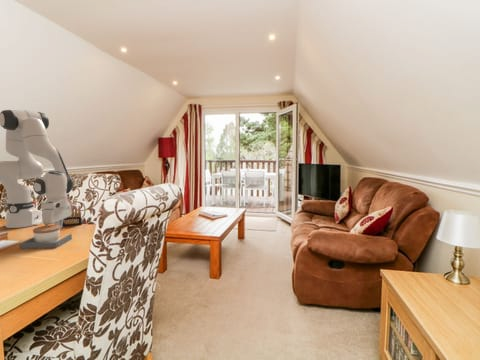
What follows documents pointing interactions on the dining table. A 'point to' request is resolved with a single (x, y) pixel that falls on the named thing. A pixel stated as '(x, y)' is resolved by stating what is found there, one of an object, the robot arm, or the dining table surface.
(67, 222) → the ammunition clip
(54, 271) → the dining table surface
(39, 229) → the lidded jar
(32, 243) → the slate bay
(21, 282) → the dining table surface
